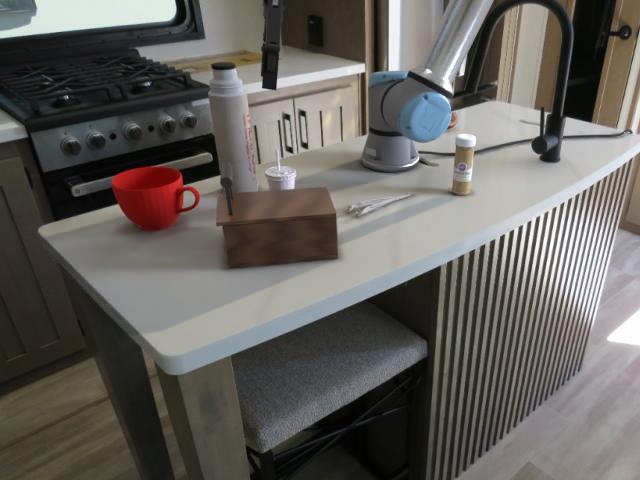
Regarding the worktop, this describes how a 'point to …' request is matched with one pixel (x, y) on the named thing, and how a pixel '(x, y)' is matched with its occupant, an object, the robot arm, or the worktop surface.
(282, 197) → the wooden panel
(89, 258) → the worktop surface
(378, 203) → the tweezers
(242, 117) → the thermos bottle
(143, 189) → the ceramic cup
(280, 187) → the smoothie
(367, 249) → the worktop surface
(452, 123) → the fruit slice
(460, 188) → the sprinkles bottle
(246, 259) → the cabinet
